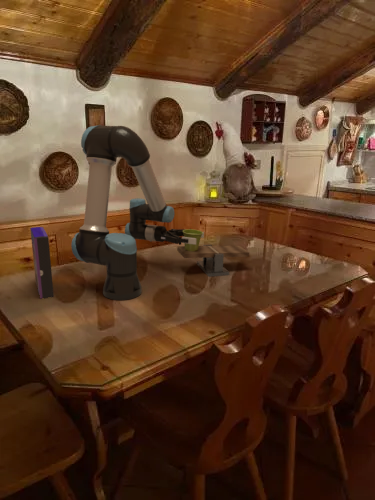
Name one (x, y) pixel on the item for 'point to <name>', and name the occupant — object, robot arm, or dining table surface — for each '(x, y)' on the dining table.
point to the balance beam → (213, 251)
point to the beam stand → (213, 265)
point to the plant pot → (192, 234)
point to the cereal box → (42, 262)
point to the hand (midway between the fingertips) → (200, 238)
